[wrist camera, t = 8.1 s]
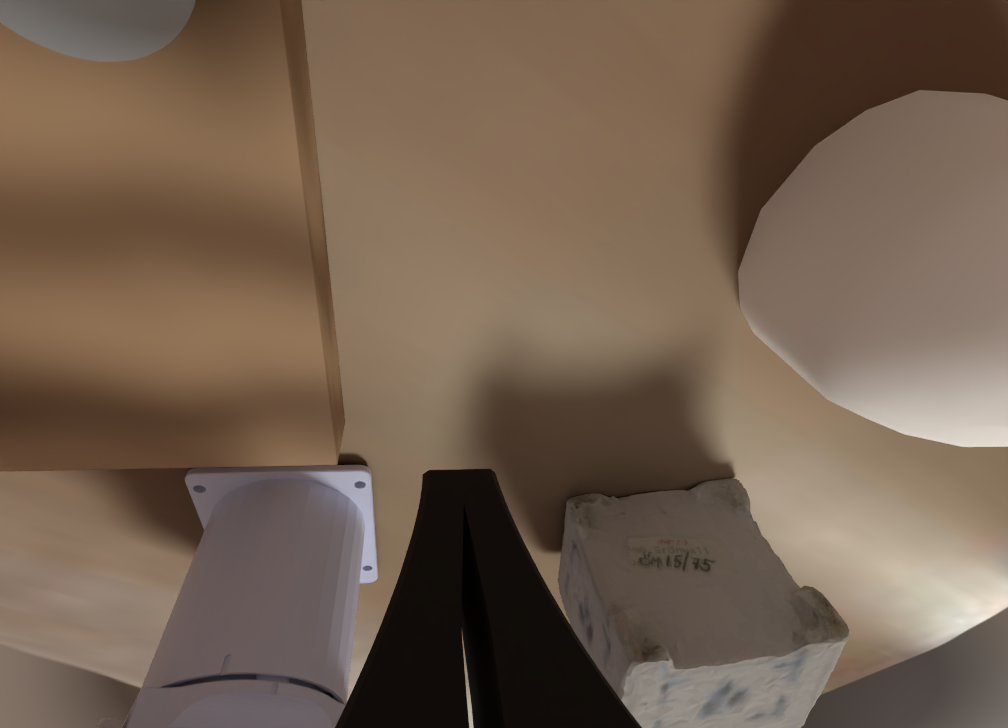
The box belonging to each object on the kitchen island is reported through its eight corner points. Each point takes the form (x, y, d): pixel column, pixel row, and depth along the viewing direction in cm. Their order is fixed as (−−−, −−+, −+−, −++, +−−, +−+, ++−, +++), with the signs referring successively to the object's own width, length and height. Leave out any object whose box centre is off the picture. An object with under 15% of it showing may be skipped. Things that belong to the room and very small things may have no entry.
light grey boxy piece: (743, 460, 28) (879, 663, 19) (699, 549, 33) (792, 742, 24) (568, 470, 26) (634, 693, 18) (549, 562, 31) (595, 769, 23)
